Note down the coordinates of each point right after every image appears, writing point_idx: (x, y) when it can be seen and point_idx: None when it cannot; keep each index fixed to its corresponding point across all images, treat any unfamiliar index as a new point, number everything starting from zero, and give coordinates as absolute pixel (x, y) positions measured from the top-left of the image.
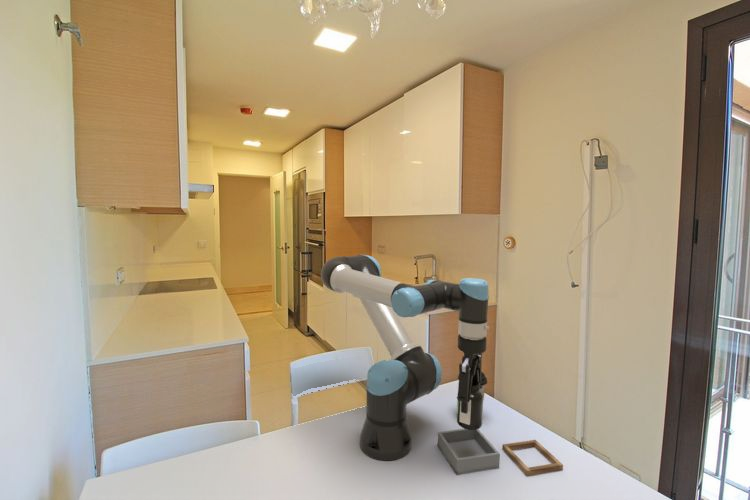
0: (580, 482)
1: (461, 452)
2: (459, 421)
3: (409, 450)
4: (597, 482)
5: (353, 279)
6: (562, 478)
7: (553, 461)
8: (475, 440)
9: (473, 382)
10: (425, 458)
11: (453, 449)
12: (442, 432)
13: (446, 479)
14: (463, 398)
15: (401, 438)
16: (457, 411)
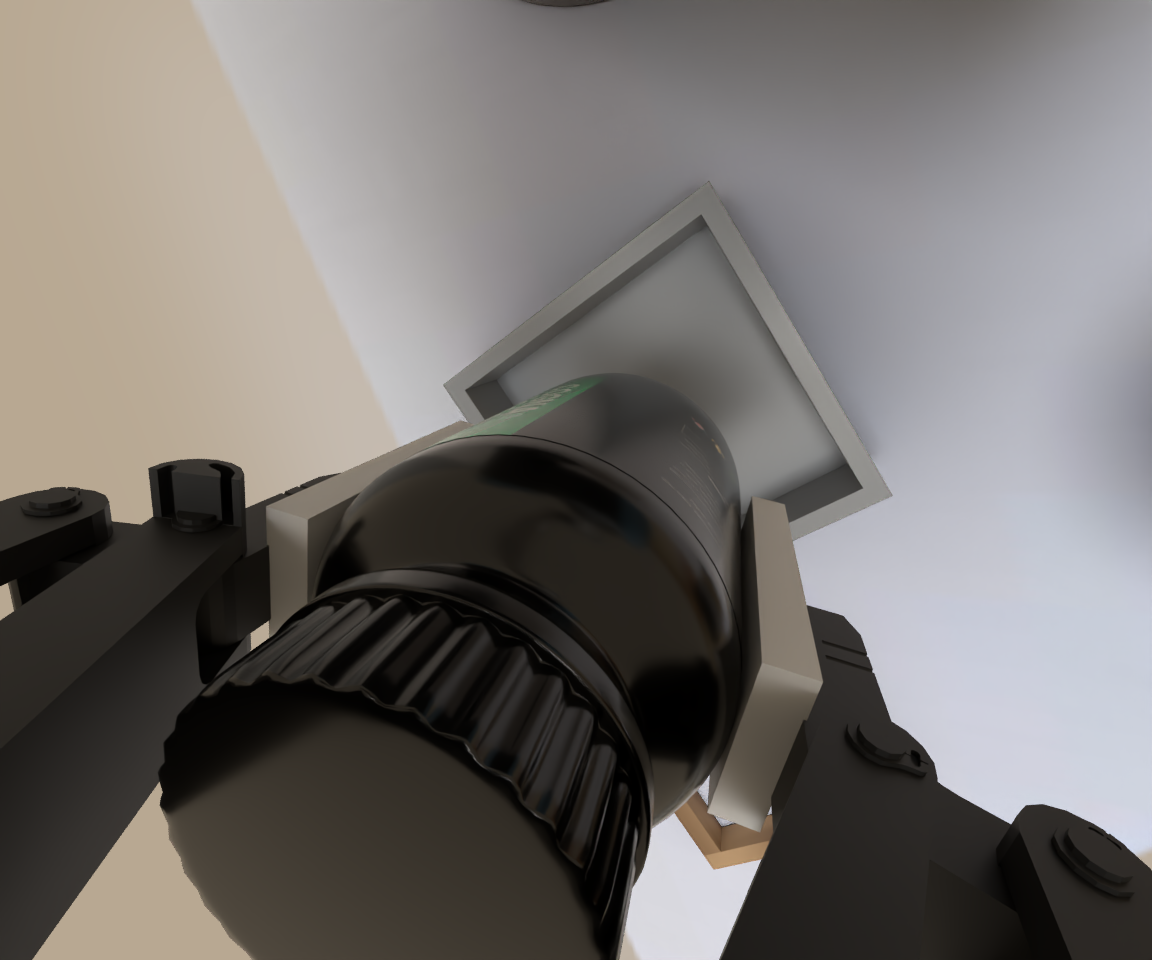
0: (655, 875)
1: None
2: (457, 422)
3: (564, 4)
4: (679, 930)
5: None
6: None
7: (742, 837)
8: (828, 467)
9: (367, 948)
10: (543, 156)
11: (668, 329)
12: (718, 223)
13: (431, 324)
14: (13, 602)
15: None
16: (527, 399)
